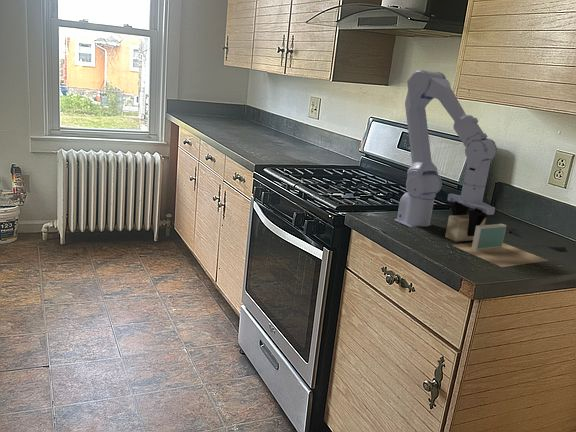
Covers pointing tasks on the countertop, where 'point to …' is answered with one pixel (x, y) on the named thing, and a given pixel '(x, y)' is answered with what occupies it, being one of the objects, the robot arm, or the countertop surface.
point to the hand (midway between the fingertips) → (464, 233)
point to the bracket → (557, 248)
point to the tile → (488, 236)
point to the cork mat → (502, 255)
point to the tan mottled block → (459, 228)
